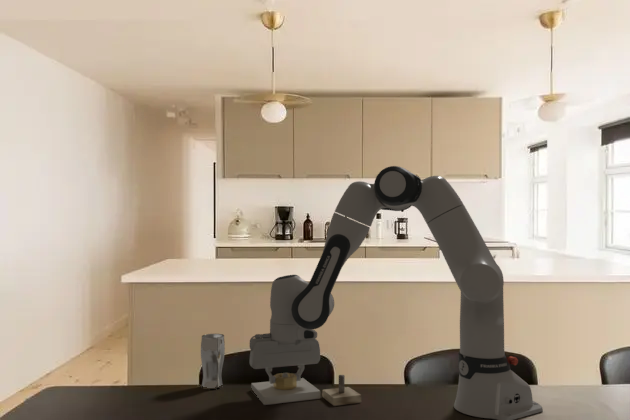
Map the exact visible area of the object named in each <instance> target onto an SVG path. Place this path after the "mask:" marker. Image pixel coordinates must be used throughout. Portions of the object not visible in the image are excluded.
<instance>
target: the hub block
mask: <svg viewBox="0 0 630 420" xmlns="http://www.w3.org/2000/svg"><path fill="white" fill-rule="evenodd" d="M287 373H288V372H283V374H282V377H288V374H287ZM251 388H252V390H253V391H254V393H255V394H256V395H257V396H256V395H255V394H254V393H253V394H254V395H255V396H256V397H257V399H258V398H259V399H258V400H259V401H260V402H261V403H262V404H263V406H266V405H276V404H282V403H283V404H285V403H292V402H302V401H309V400H310V401H311V400H318V399H319V400H320V399H321V390H320V389H319V388H317V387H316V386H315V385H313V384H312V383H310V382H309V381H307V379H305V378H304V377H302V378H301V380H300V381H297V386H296V387H295V388H293V389H288V390H281V389H276V388H275V387H274V383H273V384H270V383H269V380H268V381H261V382H260V381H259V382H258V381H257V382H251V384H250V389H251Z"/></svg>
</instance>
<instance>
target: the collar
mask: <svg viewBox="0 0 630 420" xmlns="http://www.w3.org/2000/svg"><path fill="white" fill-rule="evenodd" d="M283 373H284V372H283ZM283 373H282V372H281V373H276V374H274V375H273V376H275V377H276V380H275V381H276V383H274V387H275V388H276V389H281V390H288V389H293V388H295V387H296V386H297V376H296V375H295V374H296V373H293V372H291V373H290V372H286V373H287V374H288V377H282V374H283Z"/></svg>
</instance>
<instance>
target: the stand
mask: <svg viewBox="0 0 630 420" xmlns="http://www.w3.org/2000/svg"><path fill="white" fill-rule="evenodd" d="M321 395H322V398H323V399H325V401H327V402H328V403H329V404H331V405H332V406H333V407H336V406H344V405H352V404H359V403H360V404H361V403H362V394H361V393H360V392H357V391H356V390H354V389H353V388H351V387H350V386H345V374H339V375H338V387H336V388H326V389H322V393H321Z"/></svg>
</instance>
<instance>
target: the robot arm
mask: <svg viewBox="0 0 630 420" xmlns="http://www.w3.org/2000/svg"><path fill="white" fill-rule="evenodd" d="M411 207H414V208H416V209H417V210H418V212H419V213H420V214H421V216H422V218H423V220H424V222H425V224H426V225H427V227H428V229H429V230H430V233H431V234H432V237H433V238H434V240H435V242H436V244H437V245H438V247H439V250H440V251H441V253H442V256H443V258H444V260H445V262H446V264H447V266H448V269H449V271H450V273H451V274H452V276H453V279H454V281H455V282H456V285H457V286H458V289H459V291H460V309H459V310H460V312H459V351H458V355H457V365H458V366H457V367H458V372H459V373H458V374H459V376H458V385H457V392H456V396H455V401H454V404H453V407H454V409H455V410H456V411H458V412H460V413H462V414H464V415H468V416H472V417H475V418H481V419H483V418H484V419H492V420H517V419H520V418H524V417H527V416H530V415H534V414H538V413H541V412H543V409H544V408H543V407H542V405H541V404H539V403H538V402H537V401H534V400H533V393H532V389H531V387H530V385H529V384H528V383H527V382H526V381H525V380H524V379H522V378H521V377H520V376H519V375H518V374H516V372H514V371H513V370H511V365H513V366H517V365H518V363H519V359H518V358H517V357H516V356H512V355H510V356H508V355H506V354H505V317H504V316H505V313H504V312H505V311H504V310H505V309H504V308H505V307H504V306H505V305H504V284H505V283H504V282H505V281H504V274H503V271H502V269H501V267H500V266H499V264H497V262H496V261H495V258H494V257H493V255H492V253H491V250H490V249H489V248H488V246H487V244H486V242H485V240H484V239H483V236H482V234H481V233H480V231H479V229H478V227H477V225H476V224H475V221H474V219H473V218H472V216H471V214H470V213H469V211H468V209H467V208H466V206H465V205H464V203H463V201H462V200H461V198H460V196H459V194H458V193H457V191H455V189H454V188H453V186H452V185H451V184H450V183H449V182H448V181H447V180H446V178H445V177H443V176H441V175H431V176H428V177H426V178H424V179H421V177H420V176H418V175H416V174H415V173H413V172H411V171H409V170H408V169H406V168H404V167H401V166H399V165H398V166H397V165H390V166H388V167H385V168H384V169H382V170H380V171H379V172H378V173H377V175H376V177H375V180H374V183H369V182H365V181H361V180H360V181H354V182H351V183H350V184H349V185H348V186H347V188H346V189H345V191H344V193H343V194H342V195H341V197H340V199H339V201H338V203H337V206H336V207H335V210H334V212H333V215H332V216H331V220H330V222H329V226H328V228H327V233H326V238H325V241H324V246H323V250H322V254H321V256H320V258H319V260H318V263H317V265H316V267H315V270H314V272H313V274H312V276H311V278H310V279H309V282H308V281H307V280H305V279H304V278H302V277H300V275H297V274H288V275H283V276H279V277H277V278H275V279H274V280H273V281H272V285H271V288H270V298H269V299H270V301H269V303H270V305H269V307H270V308H269V309H270V311H271V315H270V316H271V317H270V320H269V321H270V322H269V332H268V333H256V334H254V335H253V336H252V337H251V338H250V340H249V349H250V354H249V361H248V362H249V365H250V367H251V368H253V369H254V370H261V369H265V372H266V374H267V375H268V381H269V383H270V384H273V383H276V381H275V380H276V377H275V376H274V375H273V374H272V372H273V369H274V368H281V367H292V366H297V368H298V369H297V372H296V373H294V374H295V375H296V376H297V381H300V380H301V377H302V374H303V372H304V370H305V365H315V364H319V362H320V360H321V347H320V342H319V340H317V338H318V332H317V331H316V329H320V328H321V327H322V326H324V325H325V323H326V322H327V320H328V318H329V317H330V315H331V314H332V312H333V311H334V307H335V299H334V297H333V294H332V291H333V290H334V286H335V284H336V282H337V279H338V277H339V275H340V273H341V271H342V268H343V266H344V265H345V263H346V262H347V261H348V259H350V258H351V256H352V255H353V254H354V253H355V252H356V251H357V250H358V249H359V248H360V247H361V245H362V244H363V242H364V241H365V240H366V237H367V235H368V233H369V232H370V229H371V226H372V225H373V222H374V219H375V217H376V215H377V214H378V212H379V211H382V210H383V211H393V212H403V211H407V210H408V209H409V208H411Z"/></svg>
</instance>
